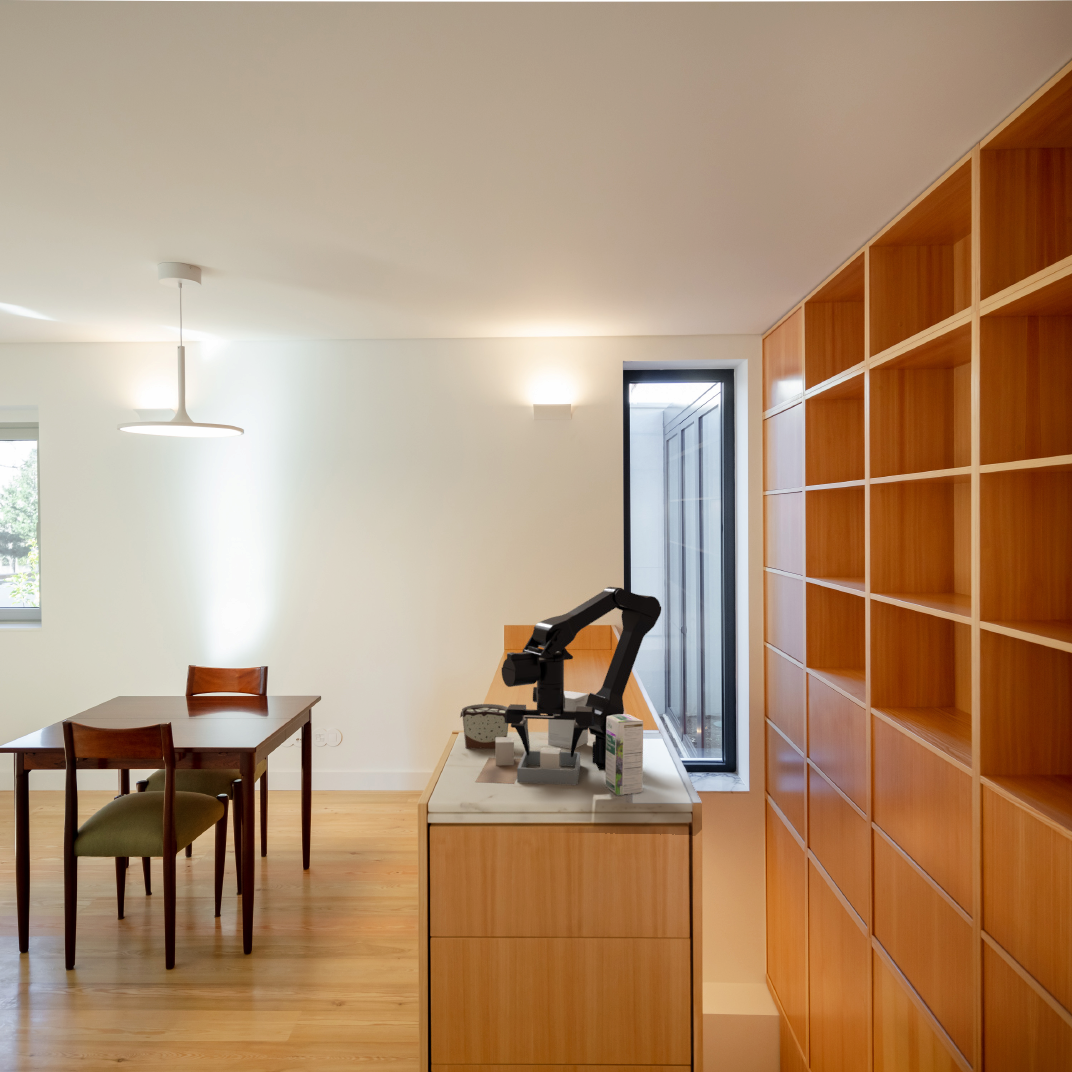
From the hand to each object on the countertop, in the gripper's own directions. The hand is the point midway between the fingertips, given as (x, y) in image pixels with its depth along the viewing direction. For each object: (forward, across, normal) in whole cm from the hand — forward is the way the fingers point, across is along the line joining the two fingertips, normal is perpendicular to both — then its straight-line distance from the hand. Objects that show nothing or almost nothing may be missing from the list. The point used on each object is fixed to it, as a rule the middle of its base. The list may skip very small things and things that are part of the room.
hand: (550, 755), depth 150 cm
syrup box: (+5, -15, +6) cm, 17 cm away
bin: (+4, 0, 0) cm, 4 cm away
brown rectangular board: (+4, +11, -1) cm, 12 cm away
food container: (+5, +17, -18) cm, 25 cm away
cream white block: (+4, +11, -6) cm, 13 cm away
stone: (+4, 0, 0) cm, 4 cm away
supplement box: (+5, -2, -22) cm, 23 cm away
